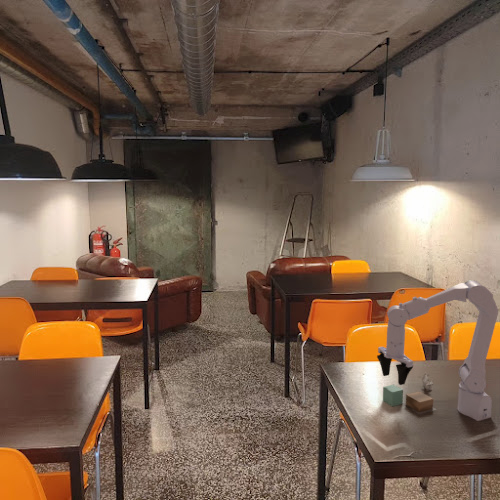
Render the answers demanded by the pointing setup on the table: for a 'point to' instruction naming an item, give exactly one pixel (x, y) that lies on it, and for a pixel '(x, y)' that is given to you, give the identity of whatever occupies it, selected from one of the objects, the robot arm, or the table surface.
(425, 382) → the soldier figure
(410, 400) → the walnut base block
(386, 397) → the teal block
